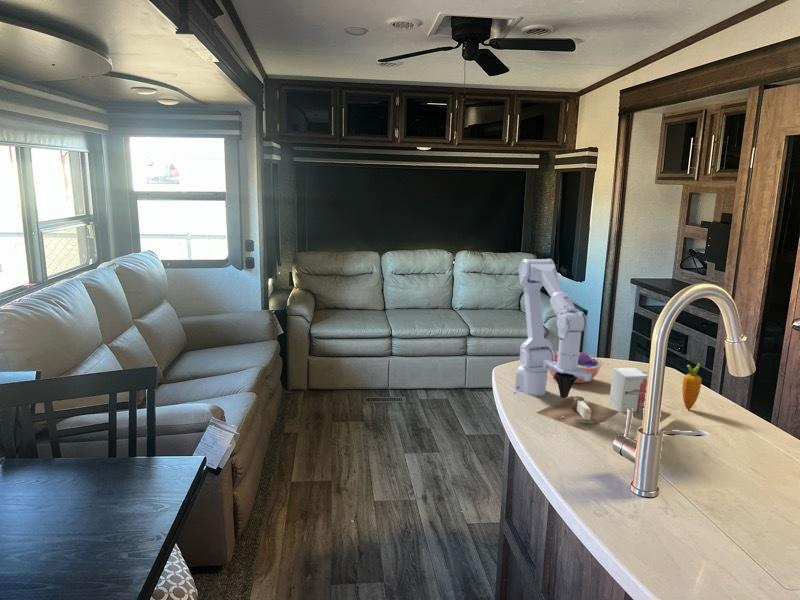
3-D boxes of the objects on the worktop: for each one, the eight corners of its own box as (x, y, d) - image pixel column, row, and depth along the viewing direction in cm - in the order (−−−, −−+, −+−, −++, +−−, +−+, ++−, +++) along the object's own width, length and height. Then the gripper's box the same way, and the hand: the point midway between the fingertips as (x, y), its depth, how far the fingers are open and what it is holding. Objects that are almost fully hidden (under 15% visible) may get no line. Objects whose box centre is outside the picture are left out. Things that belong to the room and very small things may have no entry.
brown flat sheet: (535, 416, 168) (536, 411, 168) (571, 399, 182) (571, 395, 182) (586, 435, 157) (587, 430, 157) (620, 415, 170) (621, 411, 170)
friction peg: (583, 423, 162) (585, 411, 161) (571, 407, 172) (572, 396, 172) (594, 423, 162) (595, 411, 161) (581, 407, 173) (582, 396, 172)
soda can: (646, 406, 177) (651, 370, 174) (658, 416, 170) (664, 379, 167) (624, 407, 176) (629, 371, 173) (636, 417, 170) (641, 380, 167)
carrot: (679, 411, 175) (686, 365, 172) (678, 405, 180) (685, 360, 176) (697, 414, 173) (704, 367, 170) (696, 408, 178) (703, 362, 174)
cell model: (558, 368, 211) (561, 338, 209) (609, 383, 197) (613, 352, 194) (532, 378, 200) (534, 347, 197) (583, 395, 186) (587, 362, 183)
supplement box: (619, 416, 170) (624, 376, 167) (607, 405, 177) (612, 367, 174) (643, 415, 171) (648, 375, 168) (630, 404, 178) (635, 366, 175)
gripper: (539, 349, 166) (535, 392, 169) (584, 362, 156) (579, 408, 159) (552, 344, 171) (548, 387, 174) (597, 357, 161) (592, 401, 164)
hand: (563, 396), depth 167 cm, fingers closed
